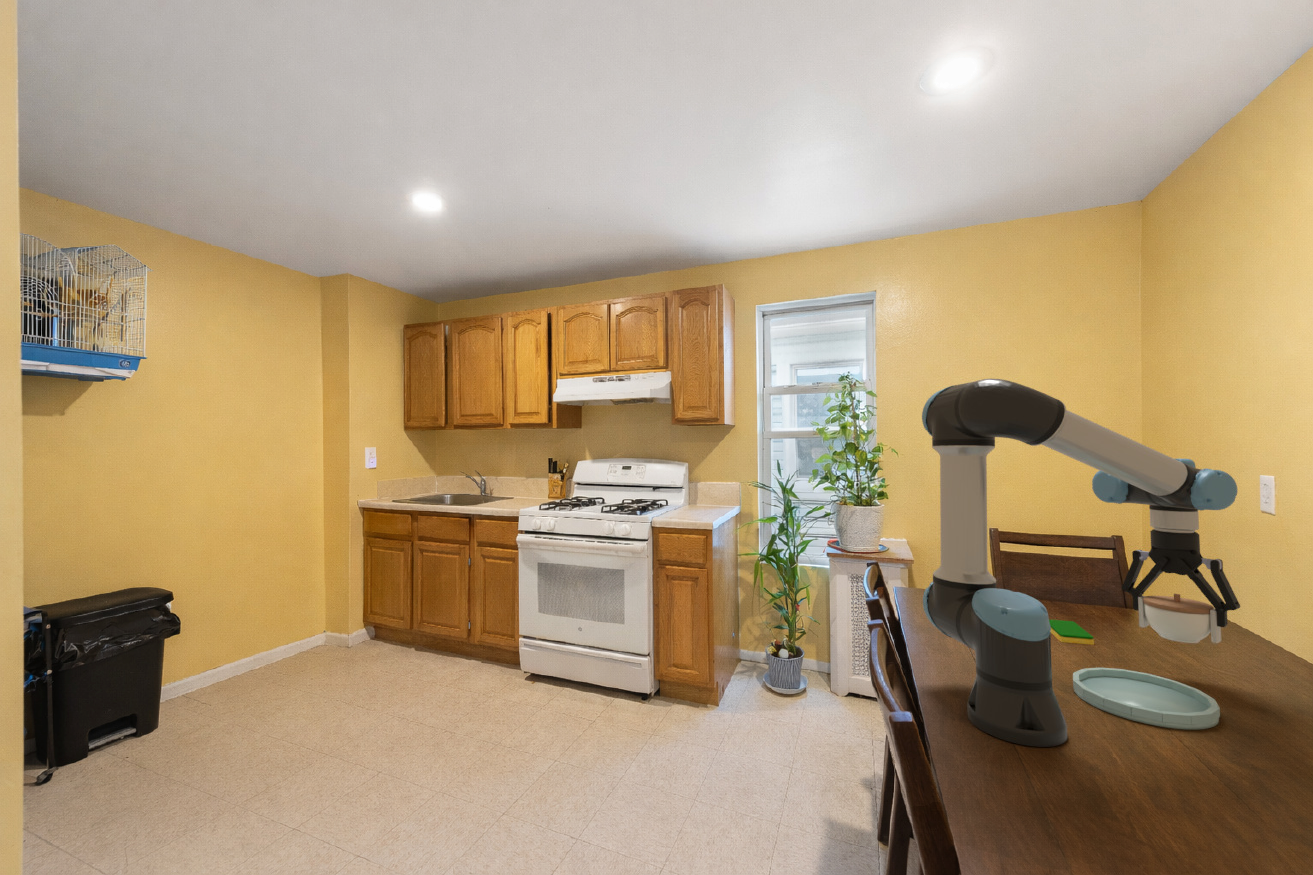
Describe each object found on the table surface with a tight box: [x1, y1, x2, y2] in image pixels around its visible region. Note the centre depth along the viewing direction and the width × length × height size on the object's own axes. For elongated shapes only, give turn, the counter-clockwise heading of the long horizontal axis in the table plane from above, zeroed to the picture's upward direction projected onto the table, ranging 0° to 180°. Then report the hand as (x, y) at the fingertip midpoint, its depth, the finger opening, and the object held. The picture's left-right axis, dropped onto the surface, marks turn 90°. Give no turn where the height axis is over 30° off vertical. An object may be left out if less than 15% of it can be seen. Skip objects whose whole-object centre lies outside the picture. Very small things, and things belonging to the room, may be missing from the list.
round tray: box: [1072, 667, 1221, 731], centre depth 104 cm, size 21×21×2 cm
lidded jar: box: [1143, 593, 1214, 644], centre depth 112 cm, size 11×11×9 cm
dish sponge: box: [1049, 619, 1095, 646], centre depth 142 cm, size 7×14×2 cm, turn 159°
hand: (1178, 633), depth 112 cm, fingers closed on lidded jar, 11 cm apart
